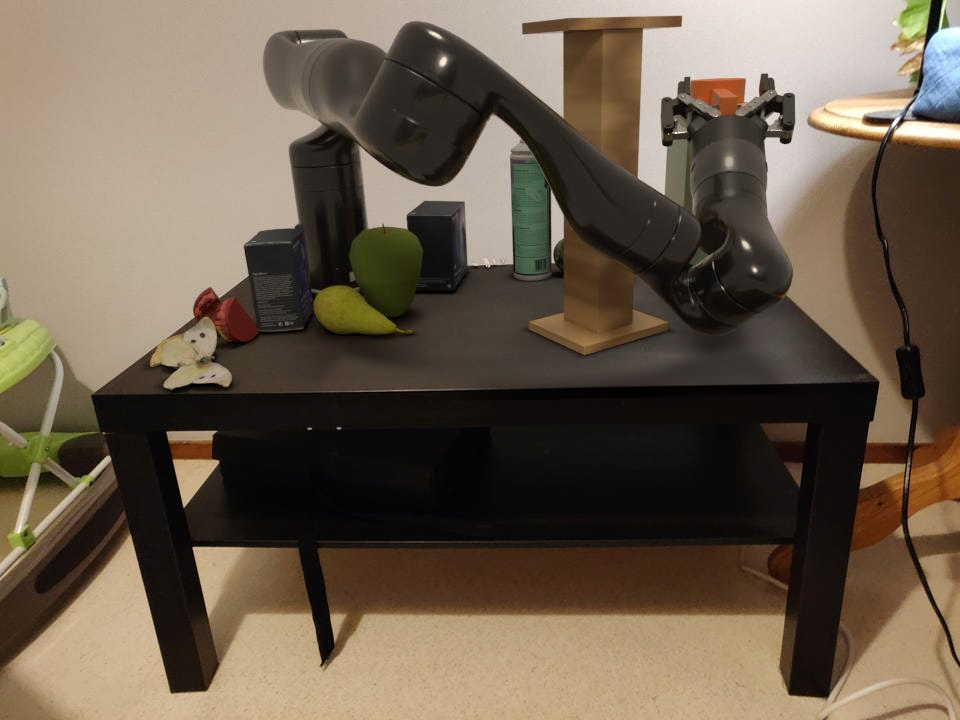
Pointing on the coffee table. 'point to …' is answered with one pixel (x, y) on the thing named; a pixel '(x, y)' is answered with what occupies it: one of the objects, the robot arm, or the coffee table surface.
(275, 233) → the box
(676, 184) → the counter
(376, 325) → the fruit
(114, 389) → the coffee table surface
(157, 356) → the pale yellow butterfly wing
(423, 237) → the small box
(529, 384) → the coffee table surface
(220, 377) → the butterfly
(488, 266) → the miniature set
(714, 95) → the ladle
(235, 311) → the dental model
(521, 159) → the spray can
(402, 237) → the apple
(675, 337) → the coffee table surface
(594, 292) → the stand
